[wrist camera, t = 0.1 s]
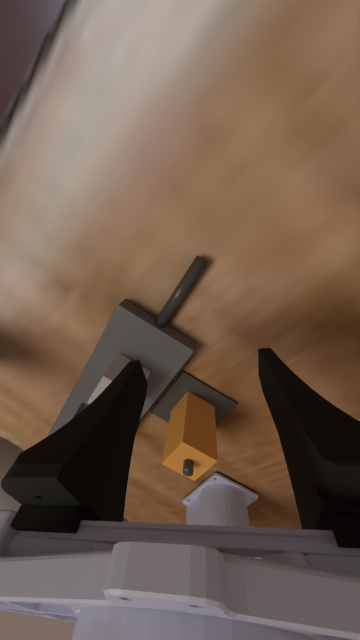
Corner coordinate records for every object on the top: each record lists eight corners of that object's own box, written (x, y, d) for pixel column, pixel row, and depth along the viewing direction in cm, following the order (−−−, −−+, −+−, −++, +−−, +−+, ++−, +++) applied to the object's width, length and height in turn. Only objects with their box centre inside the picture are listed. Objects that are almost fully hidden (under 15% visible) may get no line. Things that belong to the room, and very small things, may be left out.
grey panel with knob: (108, 454, 33) (85, 507, 27) (55, 426, 32) (17, 475, 26) (240, 283, 21) (255, 306, 15) (162, 231, 20) (143, 231, 14)
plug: (196, 424, 29) (193, 491, 21) (171, 410, 28) (159, 473, 21) (214, 406, 27) (218, 471, 20) (187, 390, 27) (181, 451, 19)
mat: (200, 438, 30) (200, 440, 30) (151, 410, 29) (150, 412, 29) (237, 402, 27) (237, 404, 27) (183, 370, 26) (183, 372, 26)
